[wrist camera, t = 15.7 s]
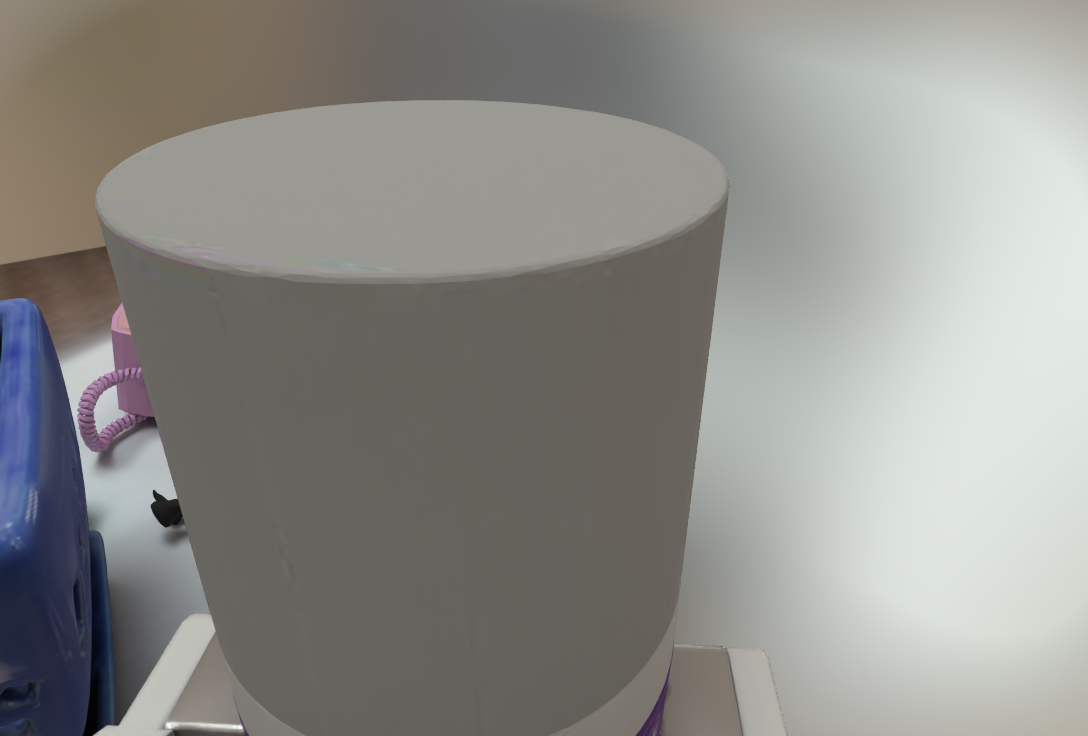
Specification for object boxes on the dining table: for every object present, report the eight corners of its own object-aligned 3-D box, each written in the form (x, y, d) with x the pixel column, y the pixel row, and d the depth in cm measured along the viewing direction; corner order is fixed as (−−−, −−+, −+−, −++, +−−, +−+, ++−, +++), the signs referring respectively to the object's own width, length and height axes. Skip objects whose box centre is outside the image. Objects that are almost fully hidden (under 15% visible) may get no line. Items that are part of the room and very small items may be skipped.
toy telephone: (171, 217, 46) (334, 238, 48) (175, 307, 49) (328, 322, 51) (66, 356, 31) (309, 375, 34) (81, 472, 34) (303, 482, 37)
